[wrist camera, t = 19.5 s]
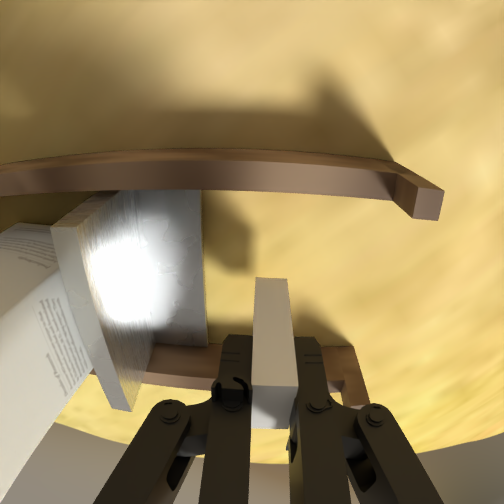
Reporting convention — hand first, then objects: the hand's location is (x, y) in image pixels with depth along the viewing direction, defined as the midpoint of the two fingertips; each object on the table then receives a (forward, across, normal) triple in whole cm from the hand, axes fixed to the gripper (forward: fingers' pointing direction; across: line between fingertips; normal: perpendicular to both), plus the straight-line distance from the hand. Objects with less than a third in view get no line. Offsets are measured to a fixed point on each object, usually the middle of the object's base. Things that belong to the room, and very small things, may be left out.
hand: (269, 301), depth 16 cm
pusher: (+2, -6, 0) cm, 6 cm away
